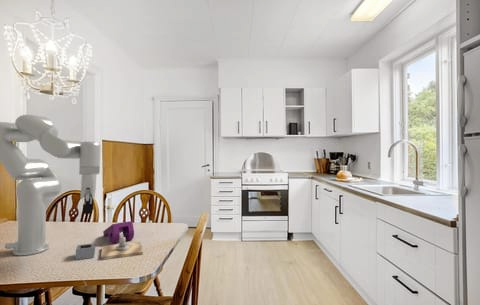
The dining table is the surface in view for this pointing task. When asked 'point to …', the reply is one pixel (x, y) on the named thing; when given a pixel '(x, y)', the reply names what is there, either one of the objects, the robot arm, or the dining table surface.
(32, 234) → the robot arm
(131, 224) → the mounting bracket
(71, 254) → the dining table surface
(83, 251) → the collar
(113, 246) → the hub board
